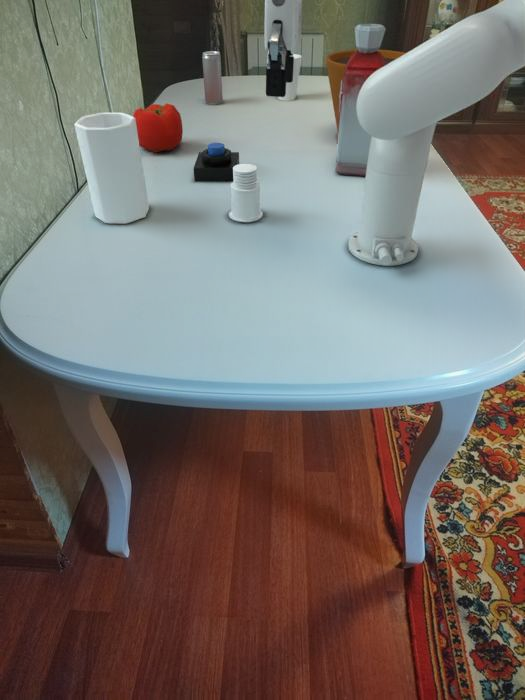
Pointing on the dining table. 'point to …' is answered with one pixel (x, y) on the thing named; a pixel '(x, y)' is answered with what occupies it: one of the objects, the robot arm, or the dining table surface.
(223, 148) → the button
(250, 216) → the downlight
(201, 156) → the base
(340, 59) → the flower pot
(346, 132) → the bottle
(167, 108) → the tomato
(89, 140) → the cup
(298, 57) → the foam cup
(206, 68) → the beverage can
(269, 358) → the dining table surface
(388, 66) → the robot arm
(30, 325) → the dining table surface
